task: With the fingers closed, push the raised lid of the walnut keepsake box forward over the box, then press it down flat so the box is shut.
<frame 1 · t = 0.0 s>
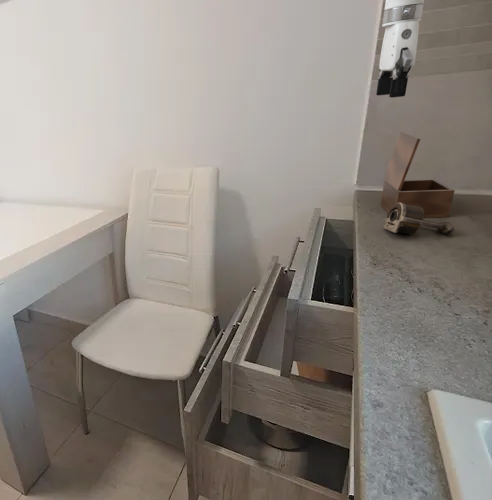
hand: (389, 95, 93), 28 cm above the countertop, tool pointing down, fingers open, 9 cm apart
security camera: (416, 234, 82), on the countertop
lid: (400, 161, 90), point 13 cm above the countertop, hinge at 80.0°
keepsake box: (412, 210, 94), on the countertop
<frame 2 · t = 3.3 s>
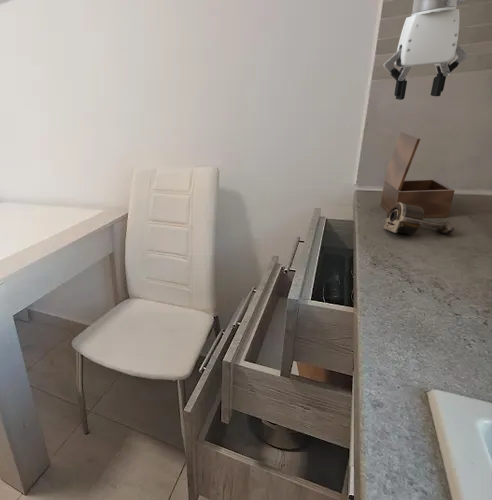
hand: (417, 96, 84), 28 cm above the countertop, tool pointing down, fingers open, 6 cm apart
nothing on the countertop moved.
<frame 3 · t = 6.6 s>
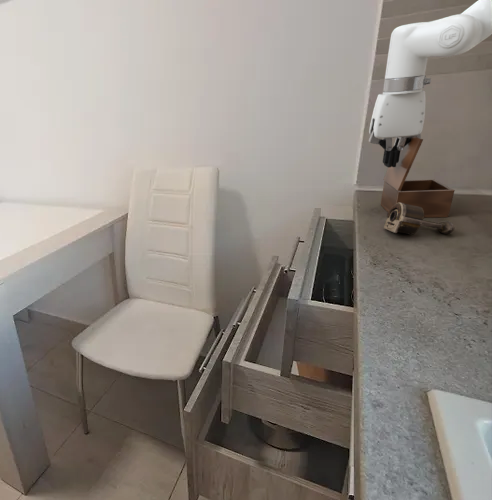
hand: (389, 166, 91), 12 cm above the countertop, tool pointing down, fingers closed
lid: (401, 161, 90), point 13 cm above the countertop, hinge at 77.2°, touching gripper
everything else where it was.
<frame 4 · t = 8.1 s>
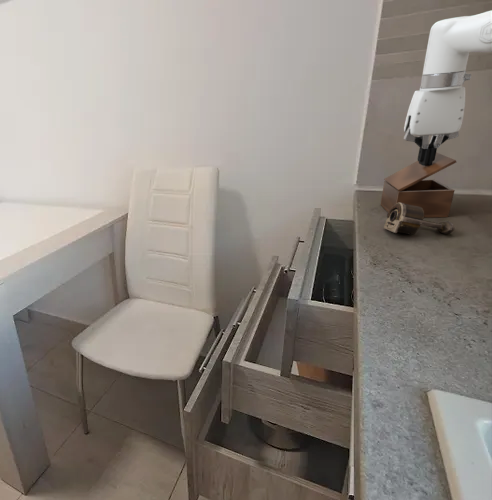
hand: (425, 164, 89), 12 cm above the countertop, tool pointing down, fingers closed
lid: (417, 171, 90), point 10 cm above the countertop, hinge at 32.1°
everything else where it was.
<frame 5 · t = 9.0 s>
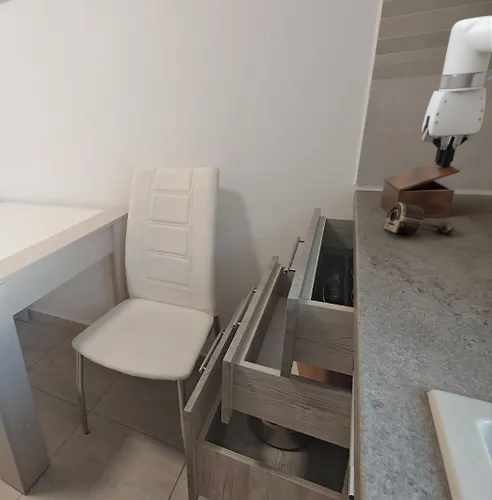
hand: (442, 165, 89), 11 cm above the countertop, tool pointing down, fingers closed
lid: (419, 175, 91), point 9 cm above the countertop, hinge at 20.2°, touching gripper
everything else where it was.
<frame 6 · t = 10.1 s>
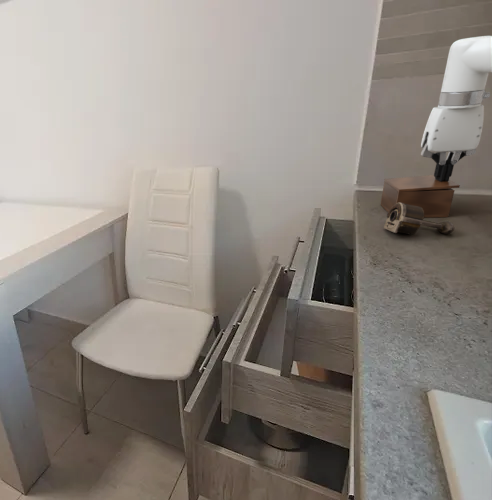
hand: (441, 179, 90), 8 cm above the countertop, tool pointing down, fingers closed
lid: (419, 182, 91), point 7 cm above the countertop, hinge at 2.4°, touching gripper
everything else where it was.
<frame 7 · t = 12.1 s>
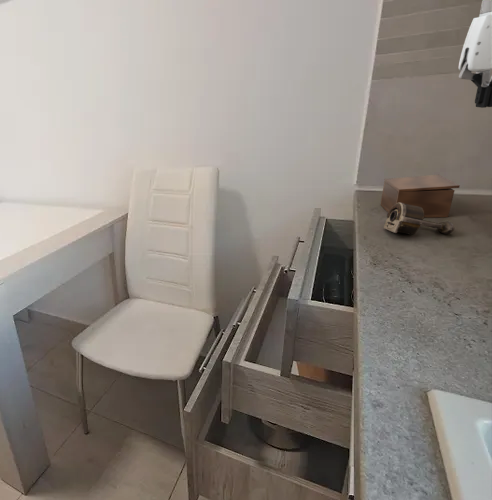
hand: (484, 106, 77), 25 cm above the countertop, tool pointing down, fingers closed
lid: (419, 183, 91), point 7 cm above the countertop, hinge at 2.2°
everything else where it was.
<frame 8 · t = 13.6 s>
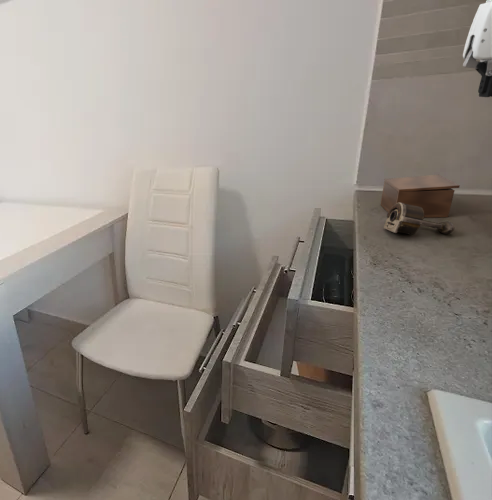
hand: (487, 96, 76), 27 cm above the countertop, tool pointing down, fingers closed
nothing on the countertop moved.
at the end: lid at +2° (first picture: +80°) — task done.
